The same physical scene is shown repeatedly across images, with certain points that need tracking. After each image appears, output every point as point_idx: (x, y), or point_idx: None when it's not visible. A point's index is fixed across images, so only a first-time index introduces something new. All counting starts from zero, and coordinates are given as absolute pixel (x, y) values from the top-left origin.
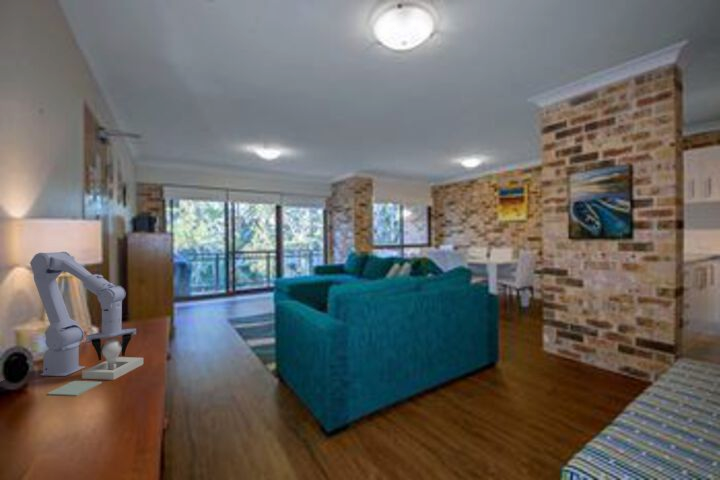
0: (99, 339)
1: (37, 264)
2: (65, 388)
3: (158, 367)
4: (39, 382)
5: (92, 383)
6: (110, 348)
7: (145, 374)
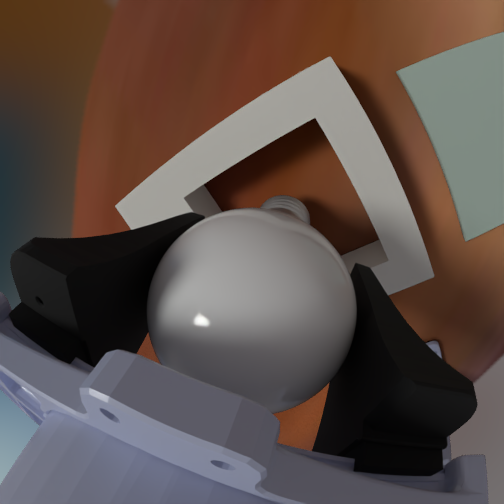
0: (370, 456)
1: None
2: None
3: (100, 78)
4: (494, 348)
5: (439, 98)
6: (290, 252)
7: (172, 12)
